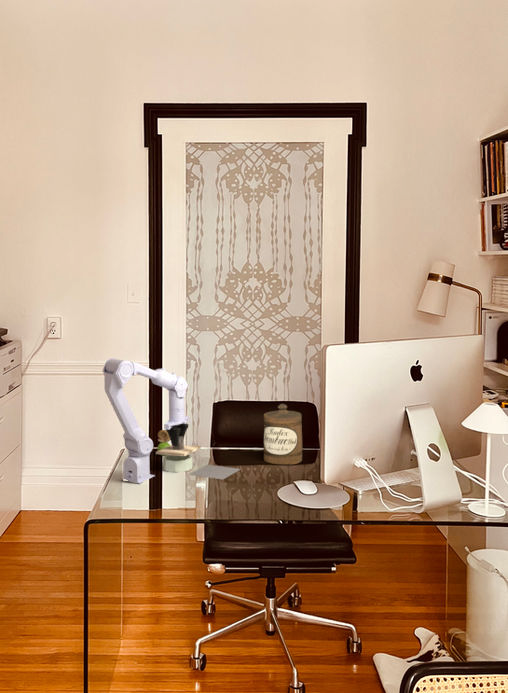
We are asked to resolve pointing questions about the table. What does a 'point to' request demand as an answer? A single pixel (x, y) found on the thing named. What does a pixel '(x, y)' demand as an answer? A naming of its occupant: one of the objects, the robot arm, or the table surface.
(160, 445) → the snail figurine
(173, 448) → the lid
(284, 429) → the wooden container
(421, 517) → the table surface
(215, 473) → the mat
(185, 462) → the bowl
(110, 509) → the table surface
